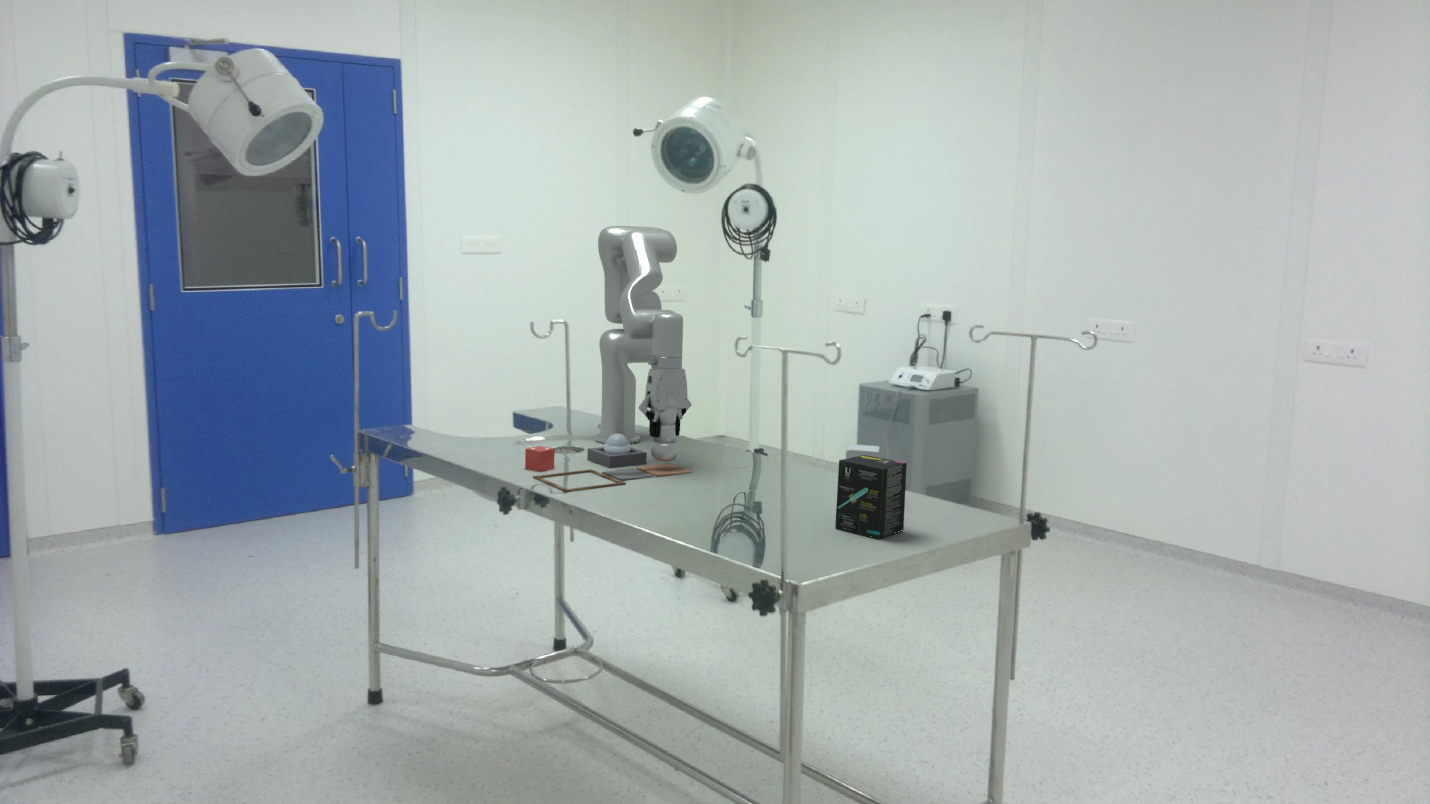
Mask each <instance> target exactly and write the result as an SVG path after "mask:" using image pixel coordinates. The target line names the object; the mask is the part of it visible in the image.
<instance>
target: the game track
mask: <svg viewBox="0 0 1430 804" xmlns="http://www.w3.org/2000/svg"><path fill="white" fill-rule="evenodd" d="M586 473H591V474H594V475H596V476H599V477H601V478H604V479H607V480H609V481H611V482H613V483H606V484H604V483H603V484H598V485H597V484H596V485H590V486H582V487H581V486H580V487H573V488H565V487H563V486H561V485H559V484H556V483H554V482H552V481H551V480H550V481H549V480H548V479H545V478H553V477H562V476H569V475H577V474H586ZM691 473H692V470H689V469H686V468H684V467H681V466H678V465H676V464H672V463H669V462H668V463H661V464H654V465H653V464H651V465H643V466H636V467H635V468H634V467H631V468H623V469H622V468H621V469H615V470H607V471H602V472H599V471H597V470H594V469H592V468H591V469H585V470H584V469H583V470H576V471H565V472H559V473H549V474H541V475H533V476H532V479H535V480H536V481H539V482H540V483H543V484H546V485H548V486H550V487H553V488H555V489H557V490H559V491H562V492H564V493H570V492H579V491H586V490H594V489H601V488H609V487H614V486H615V487H616V486H617V487H618V486H625V485H627V482H625V481H633V480H638V479H639V480H640V479H648V478H654V477H657V478H659V477H667V476H668V477H670V476H675V475H676V476H677V475H684V474H691Z"/></svg>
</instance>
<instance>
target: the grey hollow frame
mask: <svg viewBox="0 0 1430 804" xmlns="http://www.w3.org/2000/svg"><path fill="white" fill-rule="evenodd" d="M647 456H648V453H647V451H643V450H640V449H637V448H635V447H632V446H631V448H630V453H623V454H614V455H612V454H609V453H606V452H604V446H599V447H590V448H587V456H586V457H587V459H586V460H587V461H588V462H589V461H590V462H592V463H594V464H596V465H600V466H603V467H605V468H608V469H614V468H616V469H617V468H623V467H631V466H632V467H633V466H640V465H647V464H648V461H647V459H648V457H647Z"/></svg>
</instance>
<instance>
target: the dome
mask: <svg viewBox="0 0 1430 804" xmlns="http://www.w3.org/2000/svg"><path fill="white" fill-rule="evenodd" d="M631 444H632V443H631ZM631 444H629V443H628V440H627V439H626V437H625V436H624V435H622V434H613V435H611V436H610V437H609V438H608V440H607V443H603V447H604V452H606V453H609V454H612V455H614V454H623V453H630V448H631V447H632V446H631Z"/></svg>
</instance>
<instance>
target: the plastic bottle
mask: <svg viewBox="0 0 1430 804" xmlns="http://www.w3.org/2000/svg"><path fill="white" fill-rule="evenodd" d="M667 408H668V409H666V410H663V411H660V413H659V417H658V420H657V421H658V422H659V437H658V438H655V437H652V443H651V449H650V452H651V456H652V458H653V459H654V460H657V461H660V462H669V461H674V460H675V459H676V458H677V456H678V443H677V436H676V417H677V411H678V409H677V402H676V400H675V399H673V398H672V399H671V400H669V402H668V403H667ZM654 412H655V411H654Z"/></svg>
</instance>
